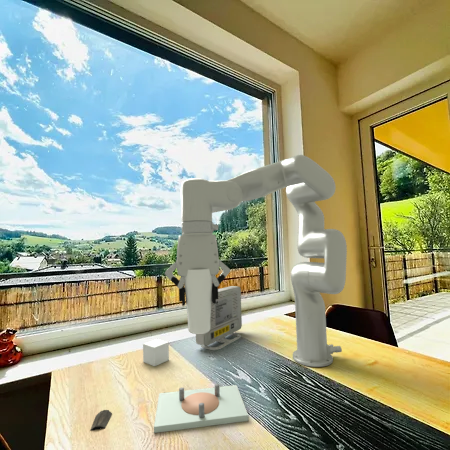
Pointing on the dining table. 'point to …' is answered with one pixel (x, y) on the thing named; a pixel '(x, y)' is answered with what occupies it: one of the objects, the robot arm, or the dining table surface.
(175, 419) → the pin nest plate
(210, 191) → the robot arm
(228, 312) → the network device
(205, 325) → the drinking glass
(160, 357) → the white cube
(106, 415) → the block
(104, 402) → the dining table surface
